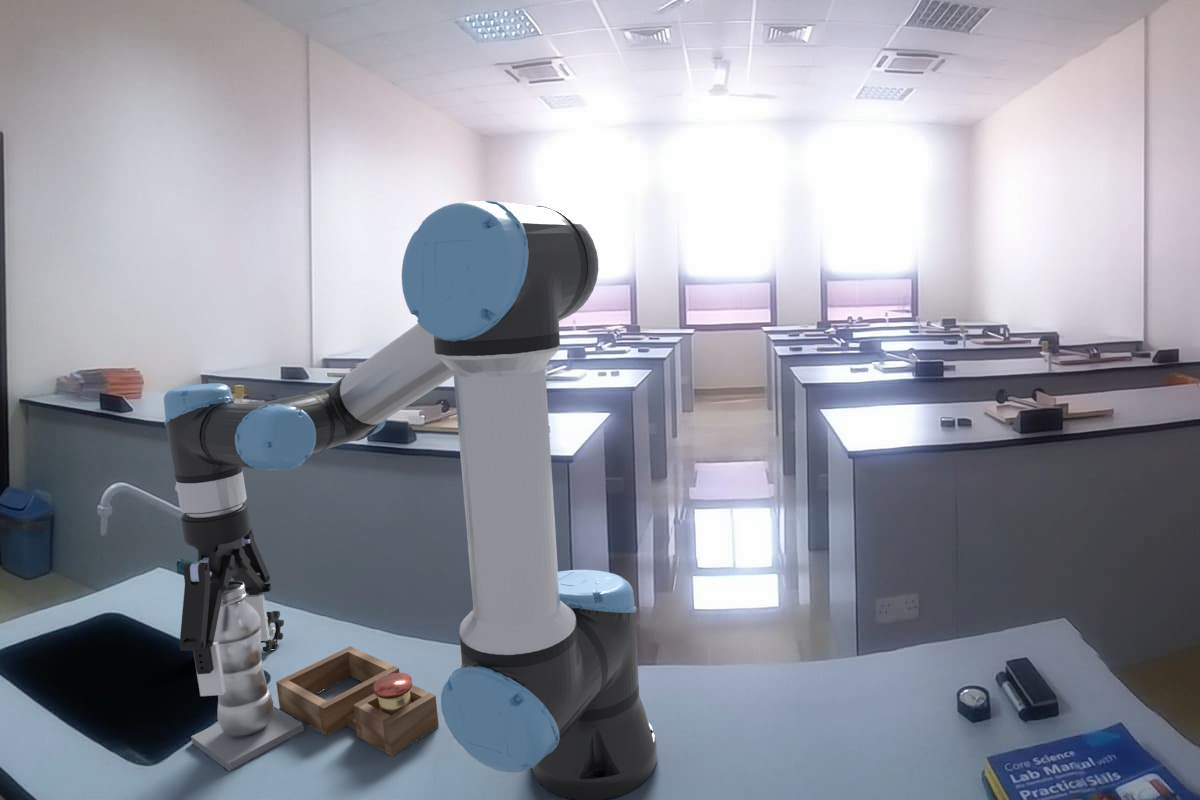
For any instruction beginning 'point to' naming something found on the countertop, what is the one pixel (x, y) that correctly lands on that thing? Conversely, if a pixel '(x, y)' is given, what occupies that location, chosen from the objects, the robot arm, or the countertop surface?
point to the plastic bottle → (241, 666)
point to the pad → (246, 740)
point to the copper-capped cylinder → (393, 692)
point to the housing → (356, 701)
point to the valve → (273, 630)
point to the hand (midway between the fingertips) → (237, 665)
